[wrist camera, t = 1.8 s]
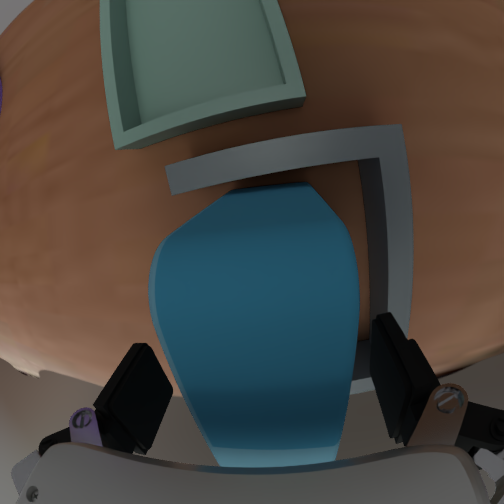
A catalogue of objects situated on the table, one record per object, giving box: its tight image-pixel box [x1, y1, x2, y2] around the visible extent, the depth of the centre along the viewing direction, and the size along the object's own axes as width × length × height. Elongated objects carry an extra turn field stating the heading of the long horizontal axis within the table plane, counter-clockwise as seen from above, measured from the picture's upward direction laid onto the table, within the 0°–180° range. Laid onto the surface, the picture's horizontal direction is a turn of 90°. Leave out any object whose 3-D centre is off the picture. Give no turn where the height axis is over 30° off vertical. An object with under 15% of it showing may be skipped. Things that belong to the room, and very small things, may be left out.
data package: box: [148, 182, 360, 467], centre depth 12 cm, size 12×4×12 cm, turn 8°
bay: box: [165, 124, 413, 395], centre depth 16 cm, size 12×16×4 cm
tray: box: [100, 0, 306, 150], centre depth 11 cm, size 11×18×3 cm, turn 12°
